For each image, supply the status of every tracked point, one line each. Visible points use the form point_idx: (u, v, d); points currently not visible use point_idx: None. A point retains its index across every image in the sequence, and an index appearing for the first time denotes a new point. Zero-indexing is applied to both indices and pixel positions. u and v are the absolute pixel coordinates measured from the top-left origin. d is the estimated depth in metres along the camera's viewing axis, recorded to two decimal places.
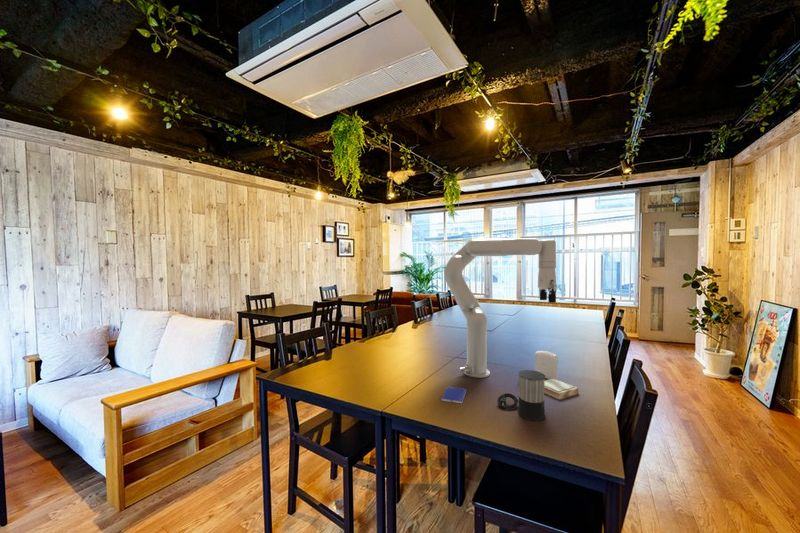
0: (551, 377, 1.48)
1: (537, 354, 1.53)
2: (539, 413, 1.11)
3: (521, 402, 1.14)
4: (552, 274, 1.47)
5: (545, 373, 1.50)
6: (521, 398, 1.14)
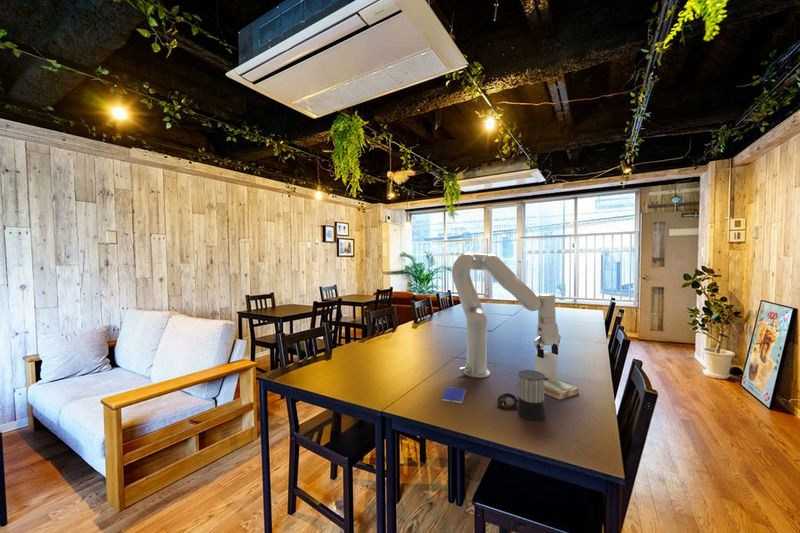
0: (551, 377, 1.48)
1: None
2: (539, 413, 1.11)
3: (521, 402, 1.14)
4: None
5: (545, 373, 1.50)
6: (521, 398, 1.14)
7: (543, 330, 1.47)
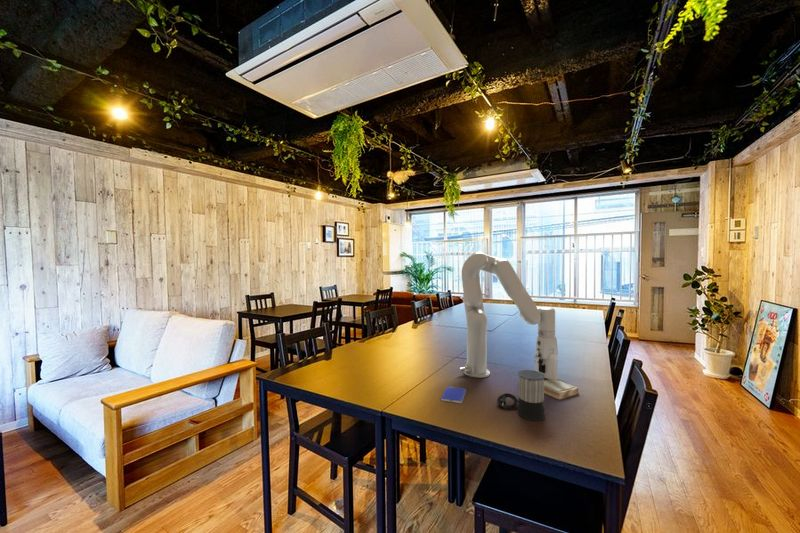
0: (551, 377, 1.48)
1: None
2: (538, 413, 1.11)
3: (521, 402, 1.14)
4: None
5: (545, 373, 1.50)
6: (521, 398, 1.14)
7: (542, 344, 1.47)
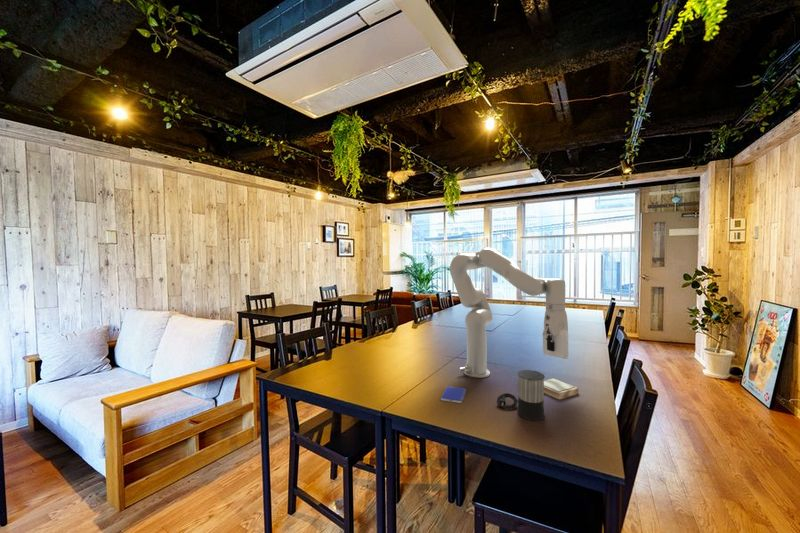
0: (561, 355, 1.33)
1: None
2: (538, 413, 1.11)
3: (520, 402, 1.14)
4: None
5: (554, 351, 1.35)
6: (520, 398, 1.14)
7: (551, 318, 1.33)
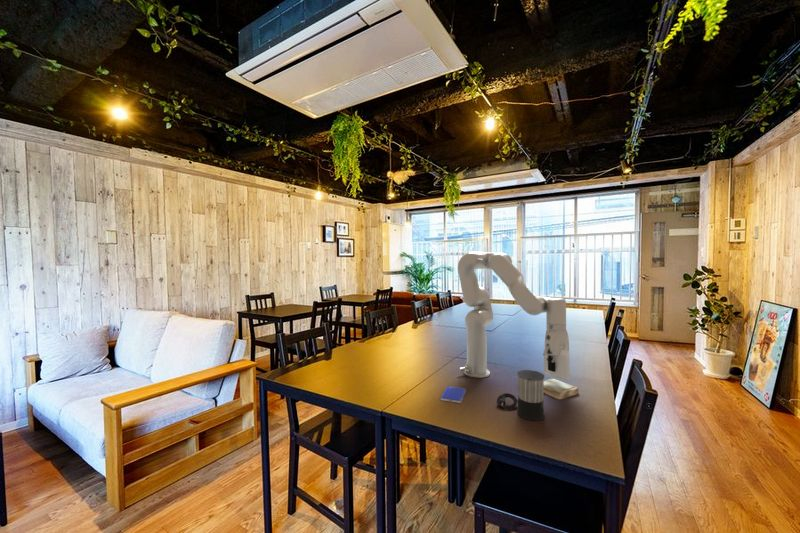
0: (562, 376, 1.31)
1: None
2: (538, 413, 1.11)
3: (520, 402, 1.14)
4: None
5: (555, 371, 1.33)
6: (520, 398, 1.14)
7: (552, 339, 1.31)
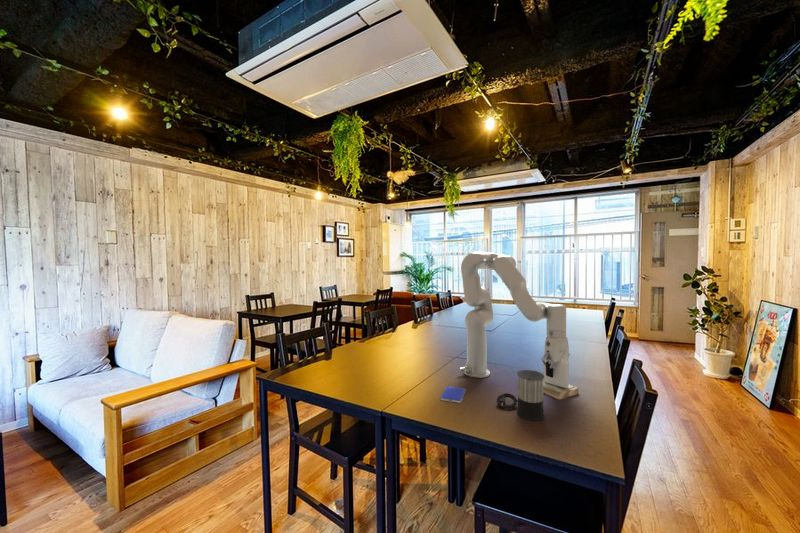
0: (561, 384, 1.31)
1: None
2: (538, 413, 1.11)
3: (520, 402, 1.14)
4: None
5: (554, 379, 1.34)
6: (520, 398, 1.14)
7: (552, 345, 1.31)
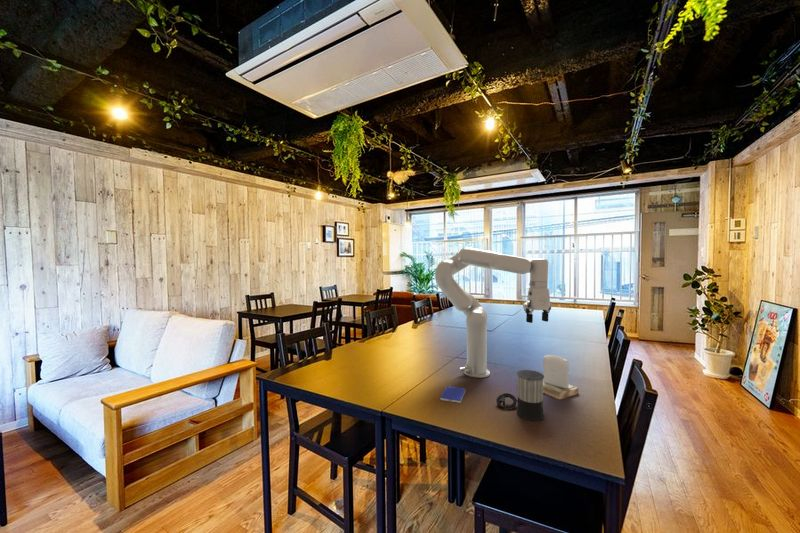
0: (561, 385, 1.31)
1: (545, 358, 1.37)
2: (537, 413, 1.11)
3: (520, 402, 1.14)
4: None
5: (554, 380, 1.33)
6: (520, 398, 1.14)
7: (533, 294, 1.44)
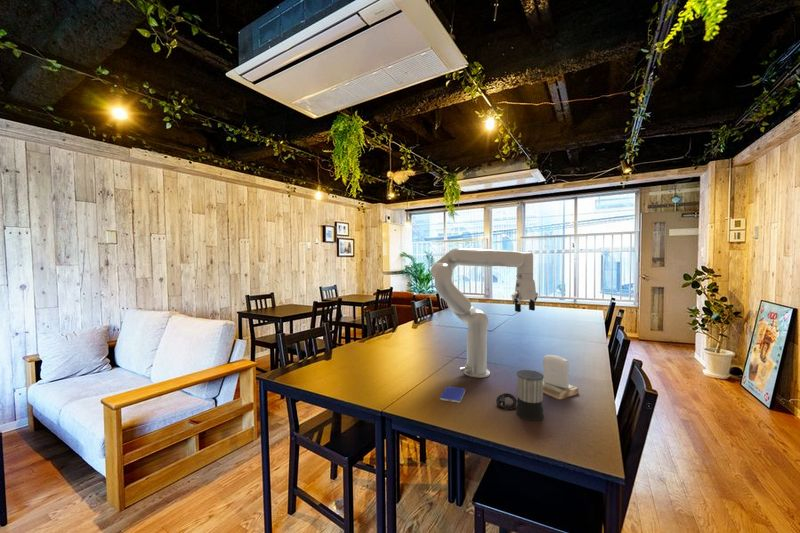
0: (561, 385, 1.31)
1: (545, 358, 1.37)
2: (537, 413, 1.11)
3: (519, 402, 1.14)
4: None
5: (554, 380, 1.33)
6: (519, 398, 1.14)
7: (521, 285, 1.56)
